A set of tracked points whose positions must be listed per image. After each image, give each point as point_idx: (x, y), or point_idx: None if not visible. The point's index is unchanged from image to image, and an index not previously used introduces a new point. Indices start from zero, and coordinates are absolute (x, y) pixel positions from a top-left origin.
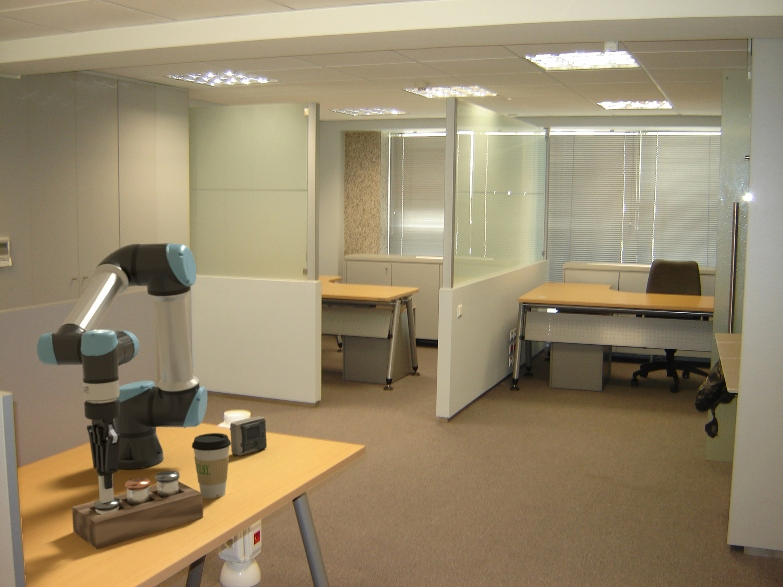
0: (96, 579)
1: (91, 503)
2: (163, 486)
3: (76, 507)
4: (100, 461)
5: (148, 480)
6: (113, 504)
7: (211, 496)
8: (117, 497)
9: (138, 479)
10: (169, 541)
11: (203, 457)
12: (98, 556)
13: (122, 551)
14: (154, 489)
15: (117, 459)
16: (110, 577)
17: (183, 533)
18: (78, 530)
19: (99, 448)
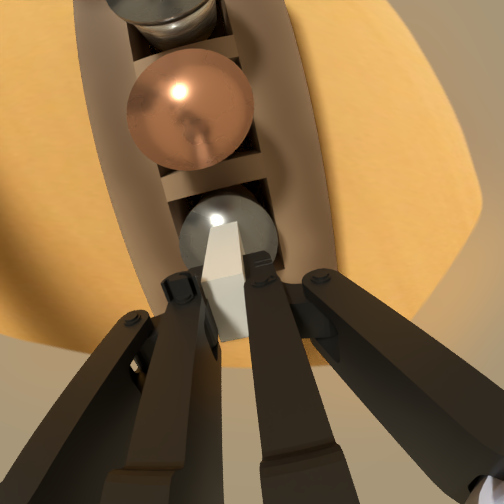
0: (441, 274)
1: (154, 276)
2: (203, 10)
3: None
4: (215, 381)
5: (195, 55)
6: (271, 227)
7: None
8: (129, 185)
9: (149, 98)
10: (370, 89)
11: None
12: (357, 258)
13: (364, 205)
14: (115, 47)
15: (395, 316)
16: (449, 252)
17: (338, 42)
18: None
19: (217, 468)
